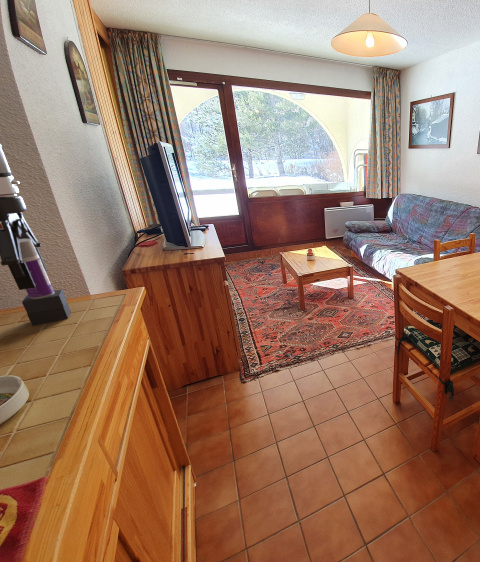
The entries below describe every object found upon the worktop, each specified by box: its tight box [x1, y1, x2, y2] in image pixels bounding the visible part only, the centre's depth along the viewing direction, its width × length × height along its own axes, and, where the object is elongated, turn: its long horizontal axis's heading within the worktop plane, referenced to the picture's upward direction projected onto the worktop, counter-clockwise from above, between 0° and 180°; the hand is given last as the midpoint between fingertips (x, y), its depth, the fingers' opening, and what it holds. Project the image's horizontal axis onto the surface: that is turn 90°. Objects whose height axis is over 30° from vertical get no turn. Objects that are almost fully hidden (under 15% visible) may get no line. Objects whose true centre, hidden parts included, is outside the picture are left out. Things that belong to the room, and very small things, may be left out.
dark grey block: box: [21, 288, 68, 315], centre depth 83 cm, size 7×5×4 cm
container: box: [19, 239, 55, 299], centre depth 80 cm, size 5×5×15 cm
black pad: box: [26, 300, 72, 327], centre depth 84 cm, size 7×5×4 cm
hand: (34, 279), depth 81 cm, fingers open, 13 cm apart
